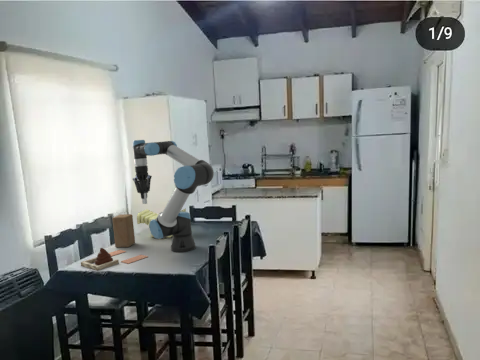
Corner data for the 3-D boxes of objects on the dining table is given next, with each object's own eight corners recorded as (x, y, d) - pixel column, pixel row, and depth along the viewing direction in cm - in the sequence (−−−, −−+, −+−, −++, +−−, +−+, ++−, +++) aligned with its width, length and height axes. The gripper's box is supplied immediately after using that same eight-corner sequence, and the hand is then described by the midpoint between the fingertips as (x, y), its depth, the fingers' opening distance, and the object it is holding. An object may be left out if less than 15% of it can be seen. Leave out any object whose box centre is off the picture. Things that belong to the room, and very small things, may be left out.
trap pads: (148, 256, 243) (148, 256, 243) (128, 263, 233) (128, 263, 232) (119, 250, 262) (119, 249, 262) (99, 256, 251) (99, 255, 251)
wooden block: (128, 247, 267) (125, 217, 264) (114, 247, 269) (111, 217, 266) (135, 243, 277) (132, 213, 274) (122, 243, 279) (119, 214, 276)
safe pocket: (118, 263, 235) (118, 259, 235) (97, 270, 225) (97, 266, 224) (102, 258, 246) (101, 255, 246) (81, 265, 235) (80, 262, 235)
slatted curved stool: (138, 238, 288) (136, 213, 286) (149, 232, 304) (147, 209, 302) (178, 238, 281) (176, 213, 279) (187, 232, 296) (185, 208, 294)
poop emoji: (97, 267, 231) (95, 250, 230) (93, 263, 238) (91, 247, 237) (115, 263, 236) (113, 247, 235) (110, 259, 243) (109, 244, 242)
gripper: (145, 164, 259) (149, 201, 262) (128, 166, 249) (132, 205, 252) (153, 164, 254) (157, 202, 257) (136, 166, 244) (140, 206, 247)
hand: (144, 203), depth 254 cm, fingers closed
